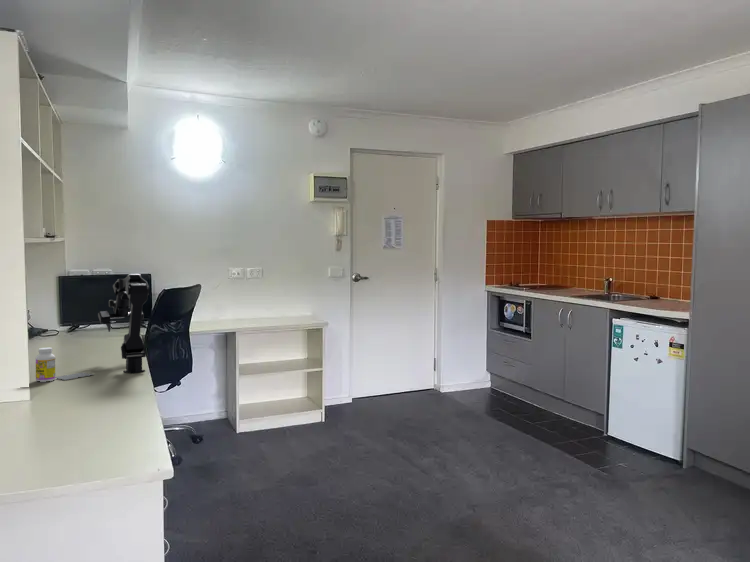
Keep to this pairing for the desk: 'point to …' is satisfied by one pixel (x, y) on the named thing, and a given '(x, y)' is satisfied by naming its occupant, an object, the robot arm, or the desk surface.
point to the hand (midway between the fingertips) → (119, 330)
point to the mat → (73, 376)
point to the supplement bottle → (45, 365)
